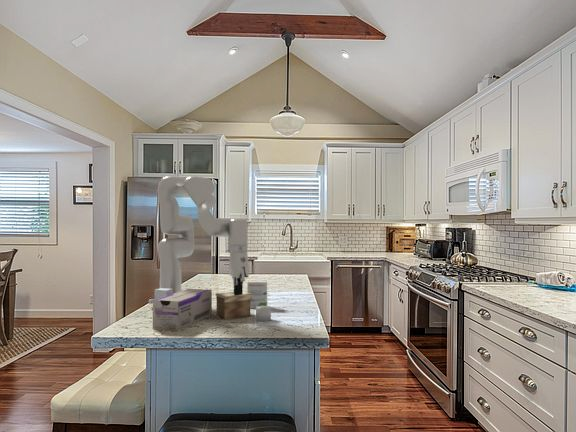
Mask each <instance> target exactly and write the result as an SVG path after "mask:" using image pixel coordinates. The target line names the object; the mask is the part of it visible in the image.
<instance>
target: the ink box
mask: <svg viewBox="0 0 576 432" xmlns="http://www.w3.org/2000/svg"><path fill="white" fill-rule="evenodd" d="M246 289H247V291H246V292H248V293H252V300H250V309H256V307H257V306H268V281H266V280H264V281H260V280H250V281H248V282H247V288H246Z"/></svg>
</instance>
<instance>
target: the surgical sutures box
mask: <svg viewBox="0 0 576 432" xmlns="http://www.w3.org/2000/svg"><path fill="white" fill-rule="evenodd" d="M212 291H213V290H212V289H202V288H201V289H199V288H188V289H187V288H186V289H184V290H181V291H180V292H177V293H174V294H170V295H167V296H164V297H161V298H157V299H154V298H153V299H154V300H153V303H152V329H153V330H160V331H173V332H180V331H182V330H184V329H186V328H188V327H190V326H192V325H195V324H196V323H198V322H199V323H200V321H203V320H205V319H207V318H209V317H211V316H212V315H213V314H212V313H213V309H212V303H213V298H212V297H213V296H212V295H213V294H212V293H213V292H212Z"/></svg>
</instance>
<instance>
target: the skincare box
mask: <svg viewBox="0 0 576 432" xmlns="http://www.w3.org/2000/svg"><path fill="white" fill-rule="evenodd" d="M170 294H173V289H166V288H160V287H159V288H154V296H153V297H154V298H153V299H157V298H161V297H164V296H167V295H170Z"/></svg>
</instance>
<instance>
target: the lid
mask: <svg viewBox="0 0 576 432" xmlns="http://www.w3.org/2000/svg"><path fill="white" fill-rule="evenodd" d="M215 296H216V297H217V296H219V297H222V298H224V302H233V301H243V300H252V293H248V291H243V294H242V295H234V291H227V292H219V293H217V292H216V293H215Z"/></svg>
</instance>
